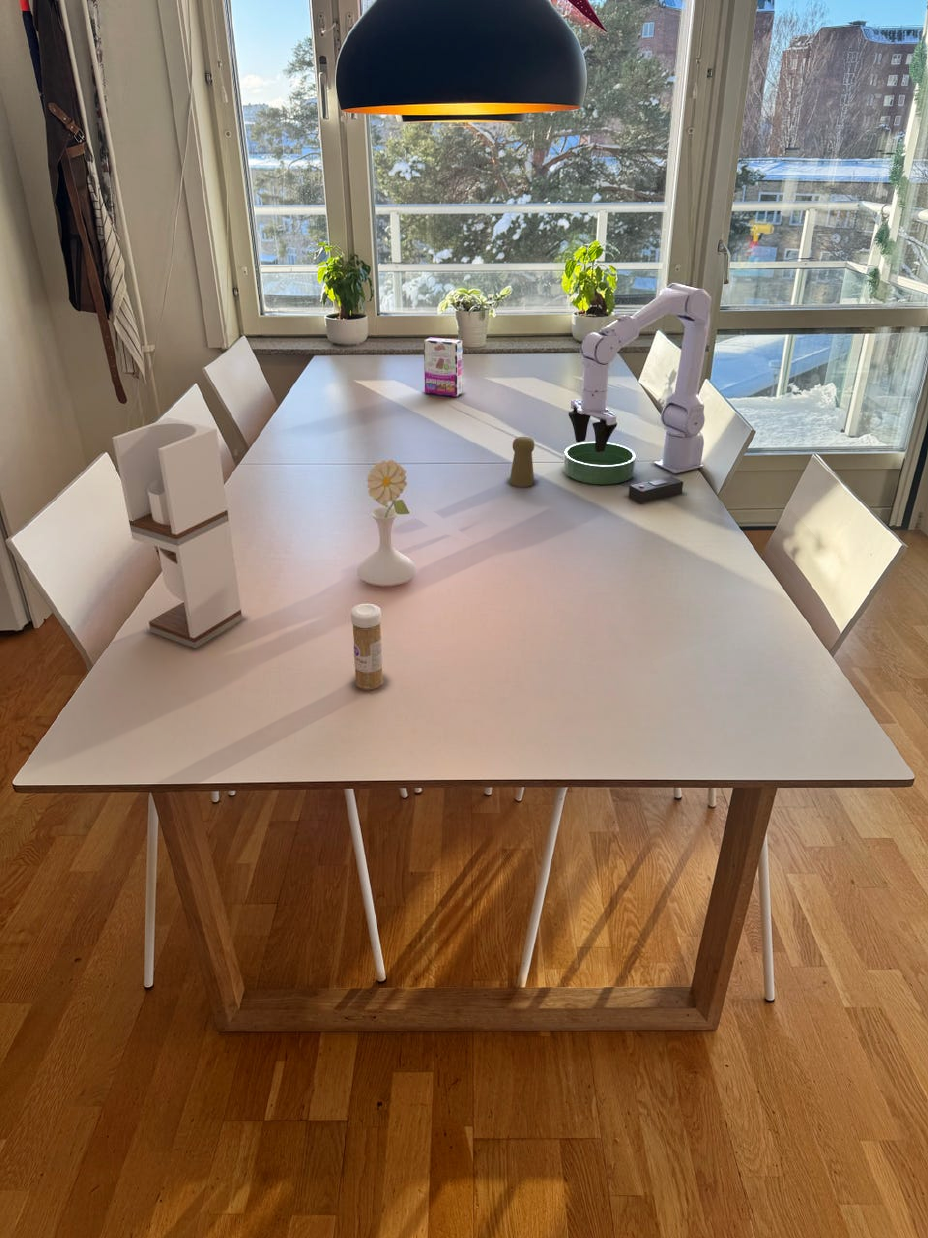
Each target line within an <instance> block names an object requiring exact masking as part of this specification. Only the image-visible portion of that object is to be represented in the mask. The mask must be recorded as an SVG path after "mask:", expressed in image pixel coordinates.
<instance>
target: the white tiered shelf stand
mask: <svg viewBox="0 0 928 1238" xmlns="http://www.w3.org/2000/svg"><path fill="white" fill-rule="evenodd" d="M112 442H113V447H114V453H115V458H116V462H117V468H118V473H119V478H120V483H121V487H122V493H123V497H124V502H125V508H126V513H127V518H128V522H129V529H130V534H131V539H132V540H135V541H138V542H141V543H144V544H147V545H151V546H153V547H156V548H157V550H158V556H159V561H160V565H161V572H162V578H163V583H164V586H165V587H166V589H167V590H168V591H169V592H170V593H171V594H172V595H173V596H174V597H175V598H177V599H179V600H180V601H182V602H181V603H179V604H177V605H175V606H174V607H171V608H170V609H168V610H166V611H165V612H163V613H161V614H160V615H158V616H156V617H154V618H152V619H151V620H149V621H148V624H149V629H150V632H151V633H152V634H156V635H157V636H160V637H164V638H166V639H169V640H172V641H174V642H177V643H180V644H182V645H184V646H187V647H190V648H192V649H198V648H199V647H201V646H203V645H204V644H205V643H207V642H209V641H210V640H212V639H213V638H215V637H217V636H218V635H220V634H222V633H223V632H225V631H226V630H228V629H230V628H231V627H232V626H234V625H236V624H237V623H239V622H240V621H242V620H243V615H242V607H241V599H240V592H239V591H240V590H239V583H238V577H237V570H236V563H235V554H234V547H233V541H232V533H231V526H230V517H229V510H228V503H227V496H226V489H225V481H224V475H223V473H224V472H223V466H222V459H221V451H220V445H219V438H218V431H217V428H214V427H209V426H206V425H201V424H198V423H192V422H187V421H184V420H179V419H174V418H170V417H166V418H163V419H161V420H157V421H155V422H153V423H149V424H147V425H144V426H141V427H138V428H135V429H133V430H130V431H127V432H124V433H122V434H119V435H116V436H113V437H112Z"/></svg>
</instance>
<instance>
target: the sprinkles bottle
mask: <svg viewBox="0 0 928 1238" xmlns="http://www.w3.org/2000/svg"><path fill="white" fill-rule="evenodd" d="M350 622H351V625H352V634H353V635H352V637H353V662H354V671H355V672H354V674H355V679H354V684H355V685H356V687H357V688H359V689H362V690H366V691H369V690H371V691H372V690H375V689H378V688H379V687H381V686H382V685H383V684H384V677H383V650H382V649H383V648H382V634H381V622H382V611H381V608H380V607H379V606H378V605H377V604H373V603H360V604H357V605H355V606H353V607H352V608H351V610H350Z"/></svg>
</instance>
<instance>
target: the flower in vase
mask: <svg viewBox="0 0 928 1238" xmlns="http://www.w3.org/2000/svg"><path fill="white" fill-rule="evenodd" d="M406 473H407V471H406V469H404V467H403V466H401V464H398V463H397V461H394V460H393V459H390V460H387V461H386V460H382V461H381V462H376V463H375V465H374V467H372V468H371V469H370V473H369V474H368V475H367V479H366V482H367V483H368V484H367V489H368V494H369V497H371V498H372V499H373V500H374V501H376V502H377V503H378V504H380V505H382V506H384V507H377V508H375V509H373V510H372V511H371V512H370V515H371V516H372V517H373V519H374V521H375V522H376V524H377V529H378V535H379V544H378V548H377V549H376V550H375V551H373V552H372V553H371V554H370V555H368V556H367V557H365V558H364V559H363V560H362V561H361V562H360V563H359V565H358V567H357V570H356V573H357V576H358V577H359V579H360V580H361V581H362V582H364V583H366V584H368V585H371V586H375V587H382V588H383V587H387V588H388V587H396V586H401V585H403V584H406V583H408V582H410V581H412V580H413V578H414V577H415V575H416V574H417V567H416V565H415V563H414V561H412V560H411V559H410V558H409V557H408V556H406V555H405V554H403V553H401V551H398V550H397V549H395V548H394V545H393V542H392V531H393V525H394V524H393V523H394V521H395V519H396V518H397V516H398V515H409V514H410V511H409V509H408V507H407V505H406V503H405V501H404V500H403V499H400V496H401V494H403V493H404V490H405V488H406V487H407V485H408V482H407V481H406V480H407V475H406ZM389 502H391V504H390V506H389V504H388V503H389Z"/></svg>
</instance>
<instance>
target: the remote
mask: <svg viewBox="0 0 928 1238" xmlns="http://www.w3.org/2000/svg"><path fill="white" fill-rule="evenodd" d="M683 487H684V481H683V480H682V479H679V478H678V477H675V476H672V475H668V476H664V477H659V478H654V479H651V480H645V481H641V482H637V483H633V484H630V485H629V488H628V498H629V499H631V500H633V501H635V502H637V503H639V504H644V503H648V502H652V501H657V500H661V499H665V498H669V497H672V496H673V497H674V496H677V495H680V494H683Z"/></svg>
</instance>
